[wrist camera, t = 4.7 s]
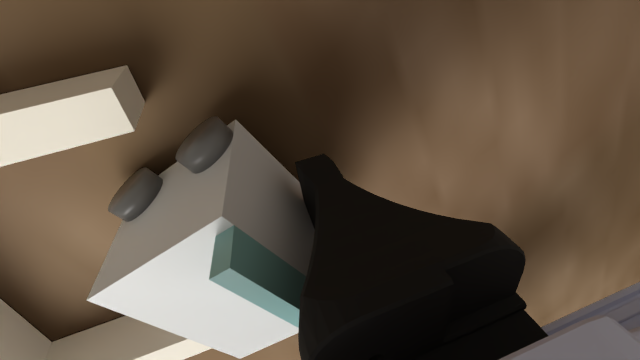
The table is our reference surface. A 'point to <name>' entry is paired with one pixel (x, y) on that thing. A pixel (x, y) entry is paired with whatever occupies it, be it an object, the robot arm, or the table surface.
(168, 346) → the bay
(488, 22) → the table surface
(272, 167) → the white box with knobs
